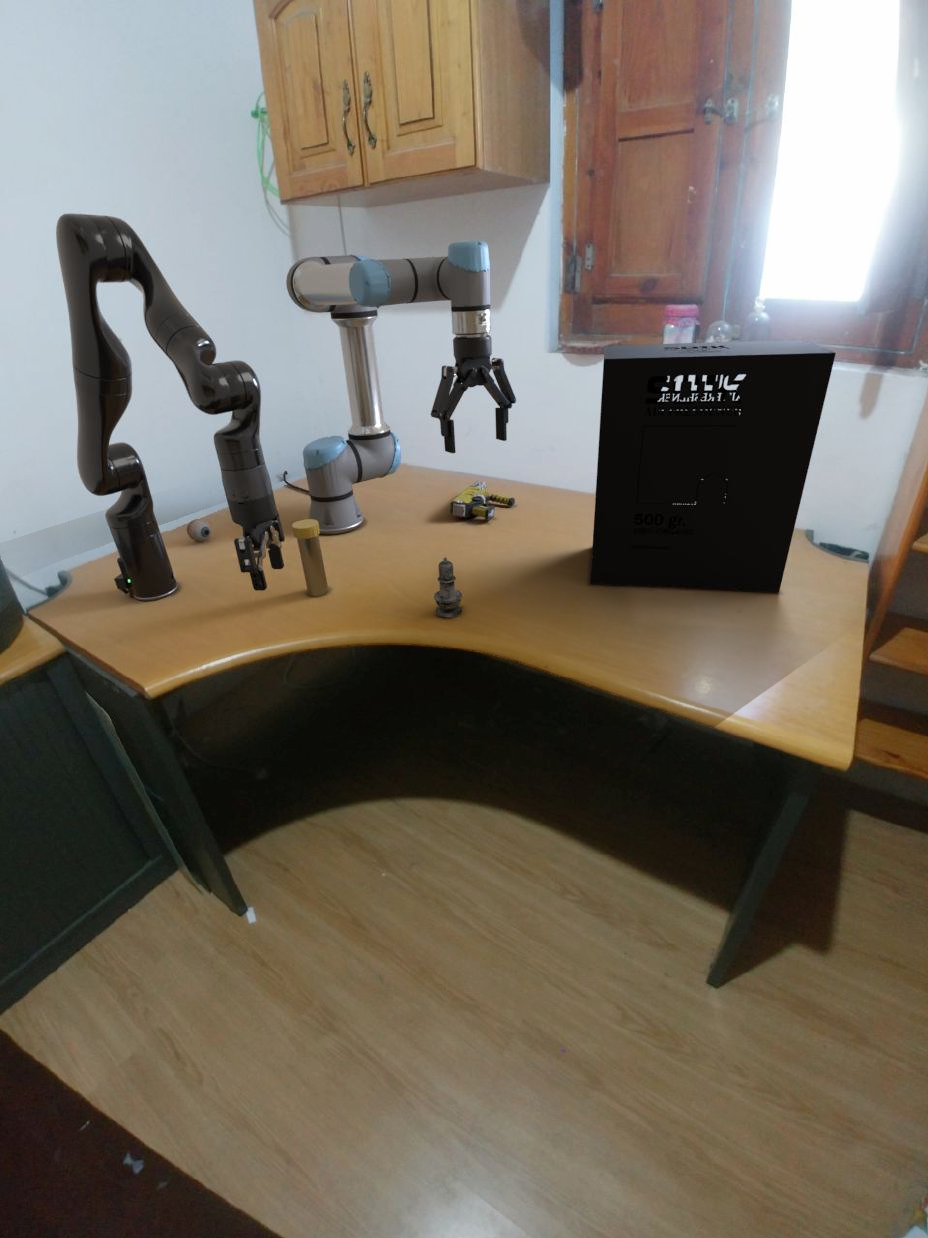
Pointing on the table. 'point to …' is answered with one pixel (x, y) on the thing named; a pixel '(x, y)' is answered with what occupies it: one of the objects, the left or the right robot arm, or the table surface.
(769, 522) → the cardboard box
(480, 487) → the toy gun
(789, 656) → the table surface
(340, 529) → the right robot arm
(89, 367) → the left robot arm
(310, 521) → the lid
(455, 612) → the dark grey chess piece
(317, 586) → the jar
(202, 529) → the eyeball
